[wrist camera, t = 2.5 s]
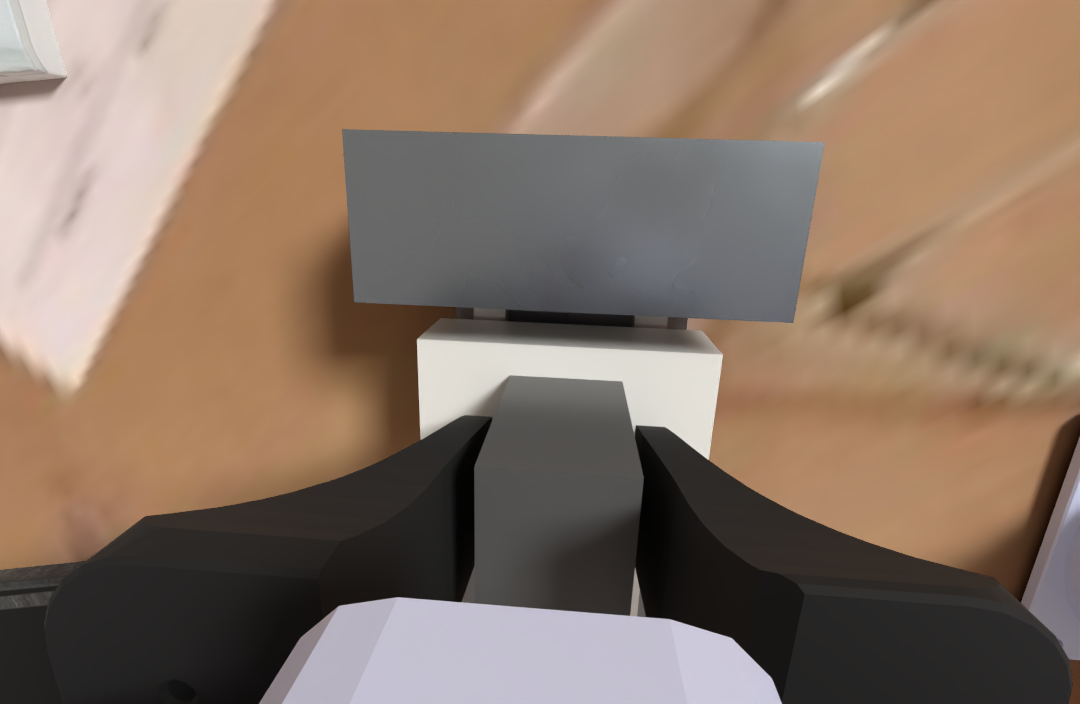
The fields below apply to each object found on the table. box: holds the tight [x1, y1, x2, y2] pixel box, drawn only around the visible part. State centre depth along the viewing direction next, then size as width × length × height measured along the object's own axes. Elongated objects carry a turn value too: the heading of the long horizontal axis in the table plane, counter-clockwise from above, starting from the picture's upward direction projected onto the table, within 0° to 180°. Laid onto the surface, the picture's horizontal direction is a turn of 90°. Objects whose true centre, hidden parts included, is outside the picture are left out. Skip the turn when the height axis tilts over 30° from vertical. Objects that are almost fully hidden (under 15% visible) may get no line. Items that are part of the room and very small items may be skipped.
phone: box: [0, 561, 86, 704], centre depth 20 cm, size 8×1×15 cm
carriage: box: [417, 318, 723, 616], centre depth 11 cm, size 6×5×6 cm
